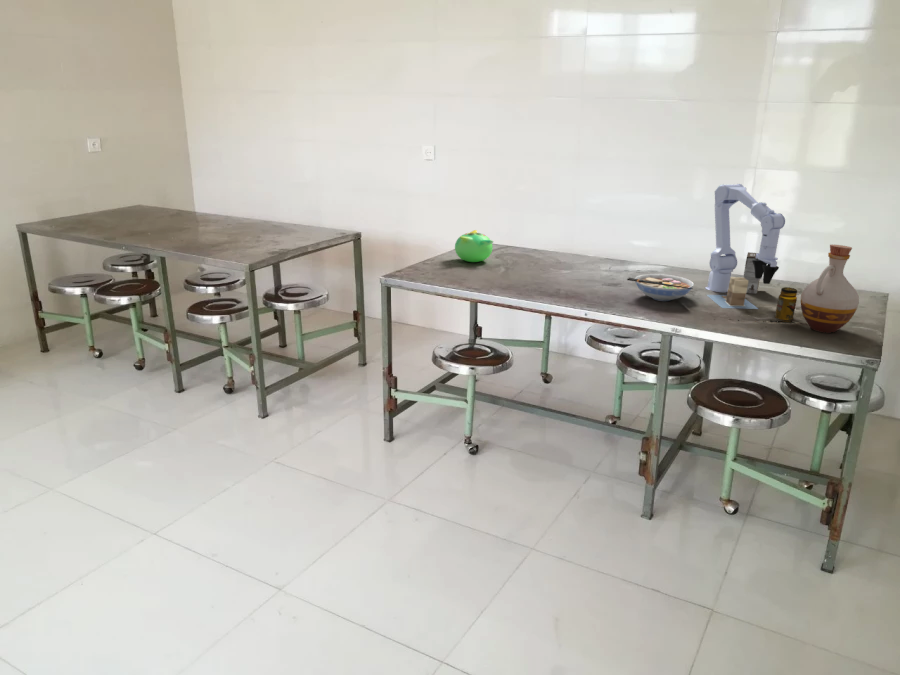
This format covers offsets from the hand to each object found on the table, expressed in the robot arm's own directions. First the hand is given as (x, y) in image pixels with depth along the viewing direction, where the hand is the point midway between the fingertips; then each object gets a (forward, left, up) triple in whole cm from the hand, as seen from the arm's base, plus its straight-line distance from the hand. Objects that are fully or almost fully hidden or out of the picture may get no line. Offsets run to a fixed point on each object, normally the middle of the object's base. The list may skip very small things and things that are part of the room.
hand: (762, 280), depth 259 cm
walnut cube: (0, -9, -9) cm, 13 cm away
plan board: (-3, -9, -10) cm, 14 cm away
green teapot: (-64, -110, -11) cm, 128 cm away
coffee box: (-21, +5, -11) cm, 24 cm away
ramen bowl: (-8, -35, -11) cm, 38 cm away
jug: (+26, +12, -11) cm, 31 cm away
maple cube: (0, -9, -4) cm, 10 cm away
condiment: (+16, +2, -11) cm, 19 cm away
